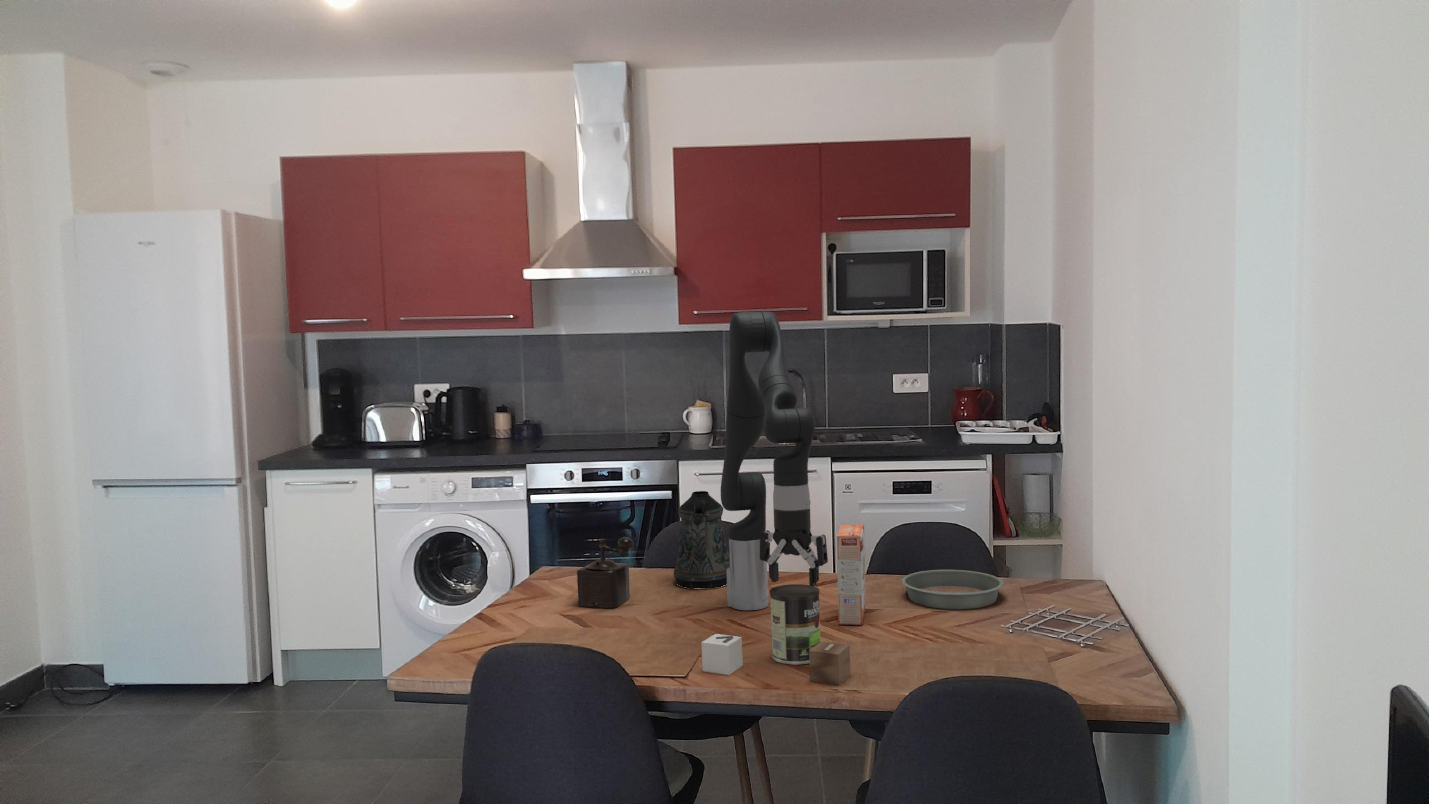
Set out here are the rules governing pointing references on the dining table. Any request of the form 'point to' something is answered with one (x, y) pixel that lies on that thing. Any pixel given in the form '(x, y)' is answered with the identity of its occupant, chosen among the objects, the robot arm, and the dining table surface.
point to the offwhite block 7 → (722, 654)
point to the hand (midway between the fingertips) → (794, 583)
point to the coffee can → (794, 622)
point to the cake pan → (952, 579)
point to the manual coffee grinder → (605, 579)
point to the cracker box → (851, 574)
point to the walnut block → (829, 662)
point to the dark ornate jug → (701, 544)
